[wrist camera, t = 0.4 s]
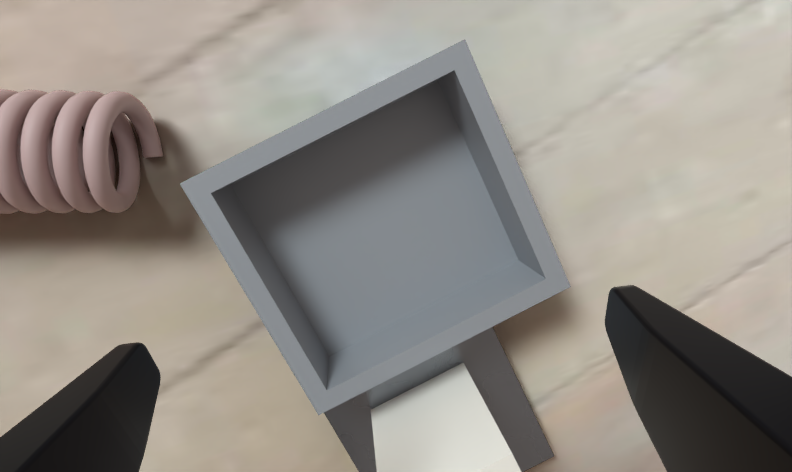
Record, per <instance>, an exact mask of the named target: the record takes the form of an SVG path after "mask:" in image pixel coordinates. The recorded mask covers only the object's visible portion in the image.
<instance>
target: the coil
mask: <svg viewBox="0 0 792 472" xmlns="http://www.w3.org/2000/svg"><path fill="white" fill-rule="evenodd" d="M124 113H125V114H126V115H127V116H128V118H129V119H130V120H131V122H132V123H133V125H134V127H135V129H136V131H137V134H138V136H139V139H140V143H141V147H142V151H143V157H144V158H149V157H162V156H163V152H162V147H161V142H160V138H159V134H158V131H157V129H156V126H155V123H154V121H153V119H152V117H151V115H150V113H149V112H148V110H147V109H146V107H145V106H144V105H143V104H142V103H141V102H140V101H139V100H138V99H137V98H135V97H134V96H133V95H131V94H129V93H125V92H120V91H114V92H111V93H108V94H106V95H104V94H102V93H100V92H95V91H83V92H80V93H78V94H76V93H73V92H69V91H63V90H58V91H53V92H50V93H46V92H43V91H37V90H25V91H22V92H17V91H11V90H4V89H0V213H2V214H11V213H15V212H17V211H22V212H25V213H35V214H38V213H42V212H44V211H47V210H49V211H51V212H54V213H68V212H71V211H73V210H75V209H76V210H78V211H80V212H84V213H94V212H97V211H99V210H101V209H105V210H106V211H108V212H114V213H120V212H123V211H125V210H127V209H129V208H130V207H131V205H132V204H133V202H134V201H135V199H136V197H137V193H138V190H139V183H140V161H139V154H138V148H137V144H136V140H135V136H134V133H133V130H132V128H131V125H130V123H129V121H128V119H127V117H126V116H125V114H124ZM54 123H55V125H54ZM82 126H83V128H84V129H85V131H84V133H83V130H82ZM110 132H112V134H113V137H114V140H115V143H116V146H117V150H118V156H119V168H120V172H119V182H118V187H117V189H116V190H115V188H114V185H115V175H116V167H115V157H114V151H113V146H112V142H111V138H110ZM88 189H90V192H88Z"/></svg>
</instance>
